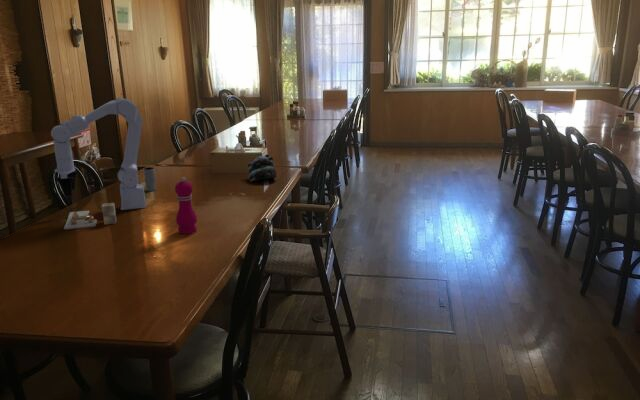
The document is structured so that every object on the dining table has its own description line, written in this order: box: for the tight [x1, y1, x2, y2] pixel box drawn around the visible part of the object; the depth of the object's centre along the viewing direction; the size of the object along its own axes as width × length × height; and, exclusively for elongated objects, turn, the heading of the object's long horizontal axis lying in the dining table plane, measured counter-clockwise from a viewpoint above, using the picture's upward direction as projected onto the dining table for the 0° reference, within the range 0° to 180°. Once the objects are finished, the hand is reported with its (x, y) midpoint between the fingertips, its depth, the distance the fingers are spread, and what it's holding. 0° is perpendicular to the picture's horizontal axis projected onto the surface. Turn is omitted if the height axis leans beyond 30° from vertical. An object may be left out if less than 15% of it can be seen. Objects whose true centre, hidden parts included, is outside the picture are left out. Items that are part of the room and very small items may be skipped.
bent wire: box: [71, 211, 95, 225], centre depth 192 cm, size 8×8×3 cm
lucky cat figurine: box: [247, 154, 277, 182], centre depth 250 cm, size 15×12×14 cm
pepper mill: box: [174, 176, 198, 235], centre depth 179 cm, size 7×7×20 cm
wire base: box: [63, 217, 98, 230], centre depth 192 cm, size 10×11×1 cm
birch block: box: [101, 202, 117, 225], centre depth 191 cm, size 4×4×7 cm
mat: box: [67, 210, 90, 219], centre depth 201 cm, size 7×7×1 cm
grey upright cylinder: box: [143, 166, 157, 192], centre depth 234 cm, size 4×4×10 cm
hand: (70, 192), depth 197 cm, fingers open, 7 cm apart
